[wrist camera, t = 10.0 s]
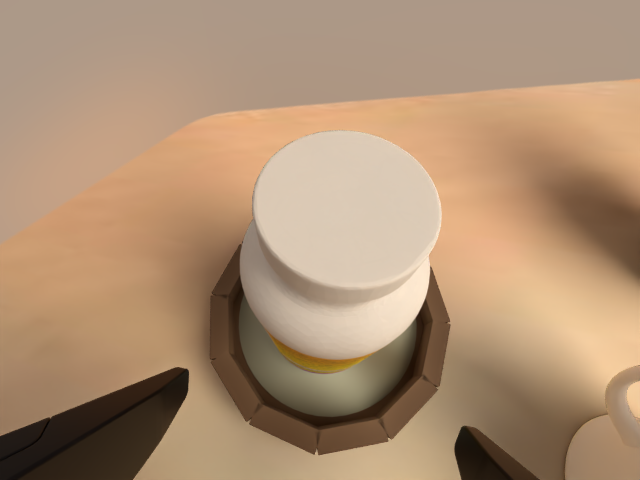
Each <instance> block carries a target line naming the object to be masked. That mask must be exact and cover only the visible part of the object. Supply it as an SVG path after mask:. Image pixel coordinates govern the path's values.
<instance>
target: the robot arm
mask: <svg viewBox="0 0 640 480" xmlns="http://www.w3.org/2000/svg"><path fill="white" fill-rule="evenodd" d="M188 383H189V371H188V370H187V369H185V368H180V367H176V368H173V369H170V370H168V371H165V372H163V373H160V374H158V375H155V376H153V377H150V378H148V379H145V380H143V381H140V382H138V383H135V384H133V385H130V386H128V387H125V388H123V389H120V390H117V391H115V392H112V393H110V394H107V395H105V396H102V397H100V398H97V399H95V400H92V401H90V402H87V403H85V404H82V405H80V406H77V407H75V408H72V409H70V410H67V411H65V412H62V413H60V414H57V415H55V416H52V417H51V419H50V418H46V419H43V420H41V421H38V422H36V423H33V424H31V425H28V426H26V427H23V428H20V429H18V430H15V431H12V432H10V433H7V434H5V435H2V436H0V480H133V479H134V478H135V476H136V475H137V473H138V472H139V471H140V469H141V468H142V466H143V465H144V464H145V462H146V461H147V459H148V458H149V457H150V455H151V454H152V452H153V451H154V450H155V448H156V447H157V445H158V444H159V442H160V441H161V439H162V438H163V436H164V434H165V433H166V431H167V429H168V428H169V426H170V424H171V422H172V421H173V419H174V417H175V415H176V414H177V412H178V410H179V408H180V407H181V405H182V403H183V401H184V400H185V398H186V396H187V393H188ZM454 450H455V456H456V460H457V464H458V468H459V472H460V475H461V479H462V480H539V479H538V478H537V477H536V476H534V475H533V474H532V473H531V472H530V471H528V470H527V469H526V468H525V467H523V466H522V465H521V464H520V463H518V462H517V461H516V460H515V459H514V458H512V457H511V456H510V455H509V454H507V453H506V452H505V451H504V450H503V449H501V448H500V447H499V446H498V445H496V444H495V443H494V442H493V441H491V440H490V439H489V438H488V437H487V436H485V435H484V434H483V433H482V432H480V431H479V430H478V429H476V428H474V427H469V426H463V427H462V428H461V430H460V432H459V435H458V438H457V440H456V443H455V449H454Z"/></svg>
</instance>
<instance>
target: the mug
mask: <svg viewBox="0 0 640 480" xmlns="http://www.w3.org/2000/svg"><path fill="white" fill-rule="evenodd" d="M637 381H640V365H638V366H634V367H631V368H628V369H625V370H623V371H621V372H620V373H618V374H617V375H616V376H614V377H613V378H612V380H611V381H610V382H609V384H608V386H607V388H606V392H605V404H606V408H607V411H608V414H609V415H603V416H599V417H596V418H594V419H591V420H590V421H588V422H586V423H585V424H584V425H583V426H582V427H581V428H580V429H579V430H578V431H577V432H576V434H575V435H574V437H573V438H572V440H571V443H570V445H569V448H568V451H567V456H566V463H565V480H640V419H639V418H635V417H634V416H633V414H632V413H631V411H630V408H629V406H628V403H627V390H628V387H629V386H630V385H631V384H633V383H635V382H637Z"/></svg>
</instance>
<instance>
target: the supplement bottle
mask: <svg viewBox="0 0 640 480" xmlns="http://www.w3.org/2000/svg"><path fill="white" fill-rule="evenodd" d="M252 212H253V220H252V221H251V223H250V225H249V227H248V229H247V232H246V234H245V237H244V240H243V244H242V248H241V253H240V276H241V282H242V287H243V290H244V294H245V296H246V299H247V301H248V303H249V306H250V308H251V309H252V311H253V313H254V314H255V316H256V317H257V319H258V320H259V321H260V323H261V324H262V326H263V327H264V329H265V330H266V332H267V333H268V335H269V336H270V338H271V339H272V341H273V343H274V344H275V346H276V347H277V349H278V350H279V352H280V353H281V354H282V355H283V356H284V357H285V358H286V359H287V360H288V361H289V362H290V363H292V364H293V365H295V366H296V367H298V368H300V369H302V370H304V371H307V372H310V373H315V374H333V373H338V372H341V371H344V370H346V369H348V368H351V367H352V366H354V365H356V364H357V363H359V362H361V361H362V360H364V359H365V358H367V357H369V356H370V355H372V354H373V353H375V352H377V351H378V350H380V349H382V348H383V347H385V346H386V345H388V344H389V343H391V342H392V341H393V340H395V339H396V338H397V337H398V336H399V335H401V334H402V333H403V332H404V331H405V330H406V329H407V328H408V327H409V326H410V325H411V323H412V322H413V320H414V319H415V318H416V316H417V315H418V313H419V311H420V309H421V307H422V305H423V302H424V300H425V297H426V294H427V290H428V285H429V277H430V262H429V254H430V252H431V251H432V249H433V247H434V245H435V243H436V241H437V238H438V235H439V231H440V228H441V216H442V215H441V204H440V199H439V195H438V192H437V190H436V187H435V185H434V183H433V181H432V179H431V177H430V176H429V175H428V173H427V172H426V170H425V169H424V168H423V166H422V165H421V164H420V163H419V162H418V161H417V160H416V159H415V158H414V157H413V156H412V155H410V154H409V153H408V152H406V151H405V150H403V149H401V148H400V147H399V146H397V145H395V144H393V143H391V142H389V141H387V140H385V139H383V138H380V137H378V136H375V135H371V134H367V133H363V132H357V131H345V130H334V131H324V132H318V133H314V134H310V135H307V136H304V137H302V138H299V139H297V140H295V141H293V142H291V143H289V144H287V145H286V146H284V147H283V148H282V149H280V150H279V151H278V152H277V153H276V154H274V155H273V156H272V157H271V158H270V160H269V161H268V162H267V163H266V165H265V166H264V167H263V169H262V171H261V173H260V175H259V176H258V178H257V181H256V184H255V187H254V191H253V196H252Z"/></svg>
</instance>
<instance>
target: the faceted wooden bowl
mask: <svg viewBox="0 0 640 480" xmlns="http://www.w3.org/2000/svg"><path fill="white" fill-rule="evenodd" d="M242 244H243V242H242ZM241 248H242V245H239V247H238V248H237V250H236V252H235V253H234V255H233V257H232V259H231V260H230V262H229V264H228V266H227V267H226V269H225V271H224V272H223V274H222V276H221V278H220V279H219V281H218V283H217V285H216V286H215V288H214V290H213V291H212V294H213V295H214V296H211V314H210V359H212V360H213V361H212V362H211V363H212V365H213V367H214V368H215V370H216V372H217V373H218V375H219V377H220V378H221V380H222V382H223V384H224V385H225V387H226V389H227V390H228V392H229V394H230V395H231V397H232V399H233V400H234V402H235V404H236V405H237V407H238V409H239V410H240V412H241V414H242V415H243V417H244V419H245V420H246V421H248V420H250V419H251V421H250V423H249V424H250V425H252V426H254V427H256V428H258V429H260V430H263V431H265V432H267V433H269V434H271V435H273V436H275V437H278V438H280V439H282V440H284V441H286V442H288V443H290V444H292V445H295V446H297V447H299V448H301V449H303V450H305V451H307V452H310V453H312V454H314V455H315V452H316V449H317V450H318V455H323V454H328V453H333V452H338V451H343V450H348V449H353V448H358V447H363V446H368V445H373V444H378V443H383V442H388V438H390V439H393V438H394V437H395V436H396V434H397V433H398V432H399V431H400V430H401V429H402V428H403V427H404V426H405V425H406V424H407V423H408V422H409V420H410V419H411V418H412V417H413V416H414V415H415V414H416V413H417V412H418V411H419V410H420V409H421V408H422V406H423V405H424V404H425V403H426V402H427V401H428V400H429V399H430V398H431V397H432V396H433V395H434V394H435V392H436V391H437V390H438V389H437V388H436V387H439V386H440V381H441V375H442V369H443V364H444V358H445V352H446V347H447V341H448V335H449V330H450V324H448V322H450V320H449V317H448V314H447V311H446V308H445V305H444V302H443V299H442V296H441V294H440V291H439V288H438V285H437V282H436V279H435V276H434V273H433V270H432V268H431V267H430V277H429V285H428V290H427V294H426V297H425V300H424V302H423V305H422V307H421V309H420V311H419V313H418V315H417V316H416V318H415V319H414V320H413V322H412V323H411V325H410V326H409V327H408V328H407V329H406V330H405V331H404V332H403V333H402V334H401V335H399V336H398V337H397V338H396V339H395V340H393V341H392V342H391V343H389V344H388V345H386V346H385V347H383V348H382V349H380V350H378V351H377V352H375V353H373V354H372V355H370V356H369V357H367V358H365V359H364V360H362V361H361V362H359V363H357V364H356V365H354V366H352V367H351V368H348V369H346V370H344V371H341V372H338V373H333V374H315V373H310V372H307V371H304V370H302V369H300V368H298V367H296V366H295V365H293V364H292V363H290V362H289V361H288V360H287V359H286V358H285V357H284V356H283V355H282V354H281V353H280V352H279V350H278V349H277V347H276V346H275V344H274V343H273V341H272V339H271V338H270V336H269V335H268V333H267V332H266V330H265V329H264V327H263V326H262V324H261V323H260V321H259V320H258V319H257V317H256V316H255V314H254V313H253V311H252V309H251V308H250V306H249V303H248V301H247V299H246V296H245V294H244V290H243V287H242V282H241V276H240V253H241Z"/></svg>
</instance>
